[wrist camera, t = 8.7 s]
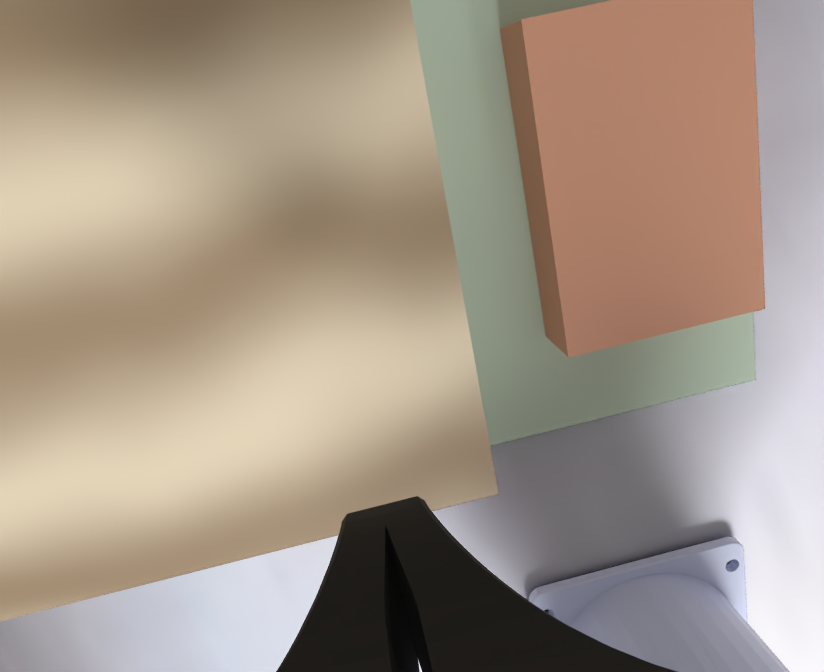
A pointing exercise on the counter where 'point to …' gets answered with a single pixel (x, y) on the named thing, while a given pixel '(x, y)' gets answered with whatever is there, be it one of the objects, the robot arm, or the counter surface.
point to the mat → (513, 253)
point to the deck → (219, 288)
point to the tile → (639, 166)
